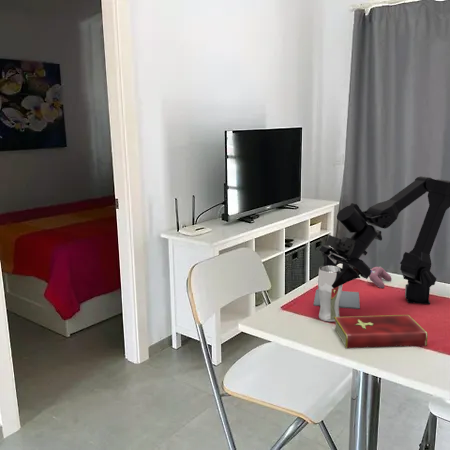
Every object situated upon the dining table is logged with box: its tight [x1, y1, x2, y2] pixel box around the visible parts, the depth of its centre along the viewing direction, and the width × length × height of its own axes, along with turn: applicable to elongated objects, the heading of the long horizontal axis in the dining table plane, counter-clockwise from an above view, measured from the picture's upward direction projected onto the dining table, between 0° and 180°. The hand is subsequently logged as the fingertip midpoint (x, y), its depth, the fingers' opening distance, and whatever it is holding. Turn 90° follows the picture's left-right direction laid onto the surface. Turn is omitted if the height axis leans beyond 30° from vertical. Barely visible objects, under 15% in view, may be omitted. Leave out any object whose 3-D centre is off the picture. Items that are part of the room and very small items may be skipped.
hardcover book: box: [334, 314, 429, 349], centre depth 129 cm, size 12×21×4 cm, turn 92°
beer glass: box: [317, 265, 344, 323], centre depth 141 cm, size 7×7×15 cm
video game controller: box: [368, 266, 393, 289], centre depth 171 cm, size 10×5×7 cm, turn 145°
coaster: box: [313, 288, 361, 310], centre depth 157 cm, size 14×14×1 cm
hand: (325, 283), depth 140 cm, fingers closed on beer glass, 6 cm apart
